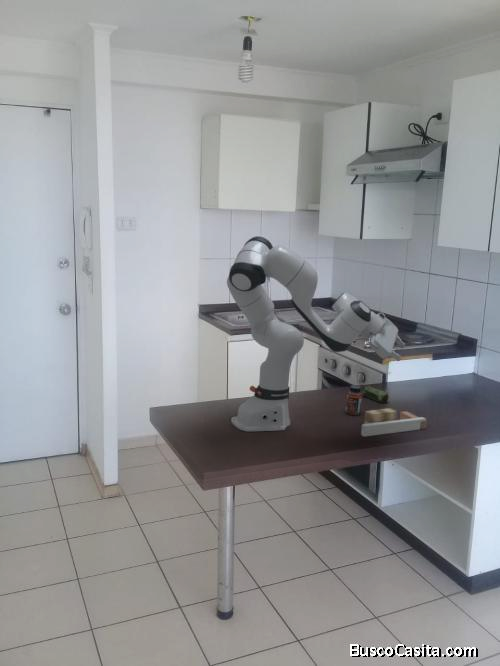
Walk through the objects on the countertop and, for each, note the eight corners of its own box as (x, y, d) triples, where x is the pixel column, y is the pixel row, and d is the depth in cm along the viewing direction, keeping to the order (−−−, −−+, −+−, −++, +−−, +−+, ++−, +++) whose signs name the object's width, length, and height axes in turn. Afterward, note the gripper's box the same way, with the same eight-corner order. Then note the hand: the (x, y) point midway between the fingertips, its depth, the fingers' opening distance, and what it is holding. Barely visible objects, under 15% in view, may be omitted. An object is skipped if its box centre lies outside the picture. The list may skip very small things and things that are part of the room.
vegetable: (390, 403, 263) (391, 392, 262) (382, 404, 260) (383, 393, 259) (367, 394, 274) (368, 383, 273) (359, 395, 271) (360, 385, 270)
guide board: (364, 436, 220) (365, 426, 220) (345, 425, 231) (346, 415, 230) (425, 428, 232) (427, 418, 231) (405, 418, 243) (406, 408, 242)
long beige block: (370, 432, 225) (372, 414, 224) (363, 428, 229) (365, 411, 228) (395, 428, 231) (397, 411, 229) (388, 425, 234) (390, 408, 233)
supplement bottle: (343, 413, 245) (345, 387, 242) (348, 410, 250) (350, 383, 248) (357, 416, 242) (360, 389, 240) (362, 412, 247) (364, 386, 245)
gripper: (373, 334, 203) (404, 361, 203) (382, 310, 220) (411, 334, 221) (361, 346, 207) (392, 372, 207) (371, 321, 224) (399, 345, 224)
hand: (402, 352), depth 214 cm, fingers open, 8 cm apart
